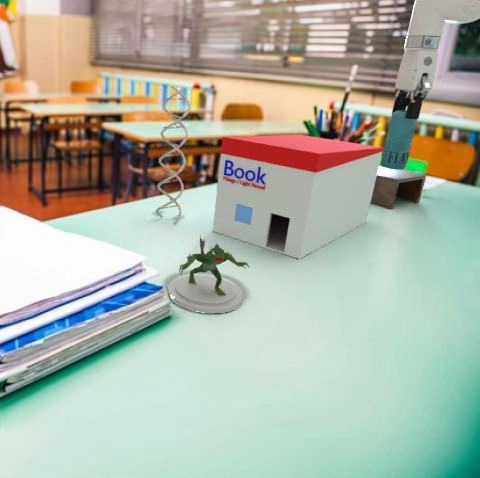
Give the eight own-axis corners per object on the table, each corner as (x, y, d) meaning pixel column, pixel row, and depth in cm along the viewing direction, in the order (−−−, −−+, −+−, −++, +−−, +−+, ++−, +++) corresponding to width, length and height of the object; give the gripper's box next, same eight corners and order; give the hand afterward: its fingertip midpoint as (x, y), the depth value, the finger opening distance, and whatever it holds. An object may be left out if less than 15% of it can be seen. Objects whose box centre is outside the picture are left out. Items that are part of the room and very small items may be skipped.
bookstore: (211, 231, 109) (222, 136, 102) (287, 202, 132) (300, 124, 125) (299, 260, 96) (319, 153, 88) (366, 222, 119) (386, 136, 111)
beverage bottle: (381, 174, 133) (399, 97, 126) (375, 168, 139) (392, 95, 132) (407, 176, 132) (427, 99, 125) (400, 170, 138) (418, 96, 131)
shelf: (419, 202, 137) (426, 174, 134) (390, 209, 130) (397, 179, 128) (378, 192, 147) (385, 165, 144) (349, 197, 140) (355, 169, 137)
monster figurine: (181, 317, 74) (187, 254, 70) (159, 281, 85) (163, 225, 81) (255, 311, 76) (264, 250, 72) (224, 277, 87) (231, 223, 83)
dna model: (186, 224, 113) (199, 88, 102) (161, 226, 111) (171, 88, 100) (173, 215, 119) (183, 85, 108) (149, 217, 117) (157, 85, 106)
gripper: (457, 44, 116) (437, 122, 122) (419, 45, 132) (402, 113, 138) (425, 43, 116) (406, 120, 122) (390, 44, 132) (375, 112, 138)
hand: (404, 116), depth 130 cm, fingers closed on beverage bottle, 6 cm apart
